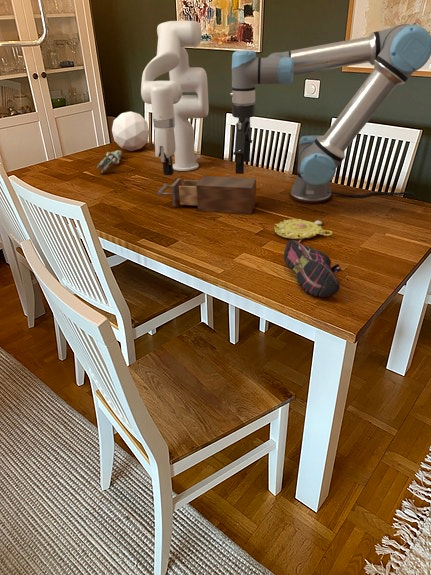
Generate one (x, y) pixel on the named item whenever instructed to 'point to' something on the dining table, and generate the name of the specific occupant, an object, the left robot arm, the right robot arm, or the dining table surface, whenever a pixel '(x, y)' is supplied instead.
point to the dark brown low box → (226, 194)
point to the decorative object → (300, 229)
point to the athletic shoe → (312, 269)
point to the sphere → (130, 131)
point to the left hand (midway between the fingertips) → (168, 174)
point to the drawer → (182, 192)
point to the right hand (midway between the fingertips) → (243, 167)
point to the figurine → (110, 160)
